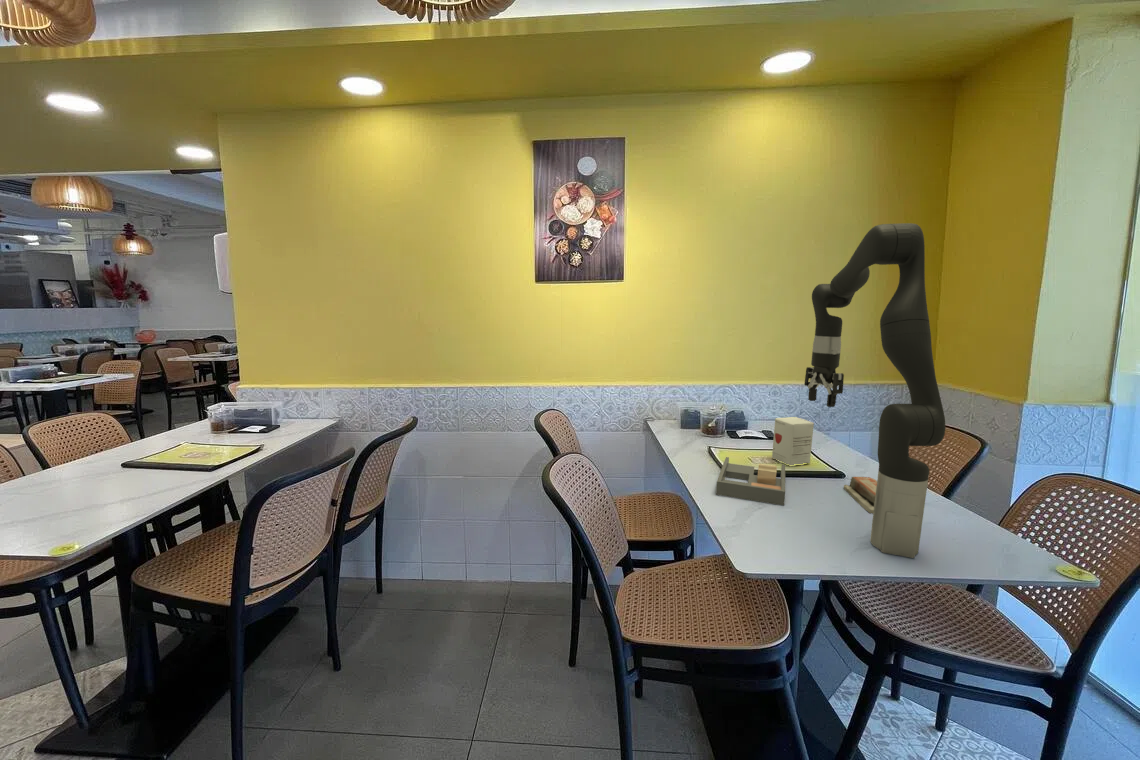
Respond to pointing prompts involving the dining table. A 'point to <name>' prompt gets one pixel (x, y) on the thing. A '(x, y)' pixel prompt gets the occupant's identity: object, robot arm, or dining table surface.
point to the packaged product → (863, 491)
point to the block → (767, 474)
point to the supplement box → (792, 440)
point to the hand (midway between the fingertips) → (821, 403)
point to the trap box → (749, 484)
